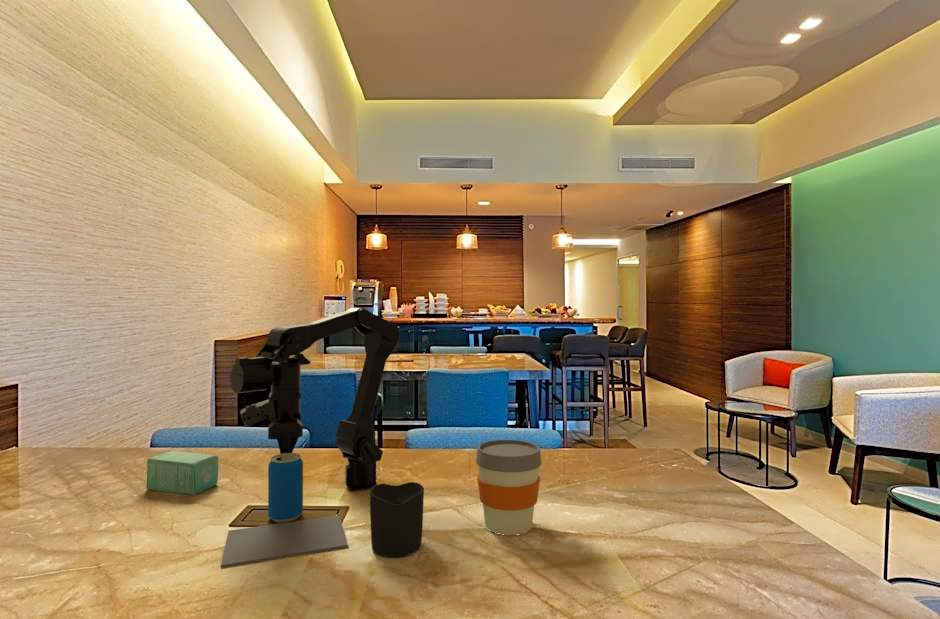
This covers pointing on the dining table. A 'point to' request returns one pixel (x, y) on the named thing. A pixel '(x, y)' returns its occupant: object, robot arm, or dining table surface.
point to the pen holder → (396, 519)
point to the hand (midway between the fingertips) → (285, 462)
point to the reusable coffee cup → (508, 484)
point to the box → (182, 472)
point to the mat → (283, 540)
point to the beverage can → (285, 487)
